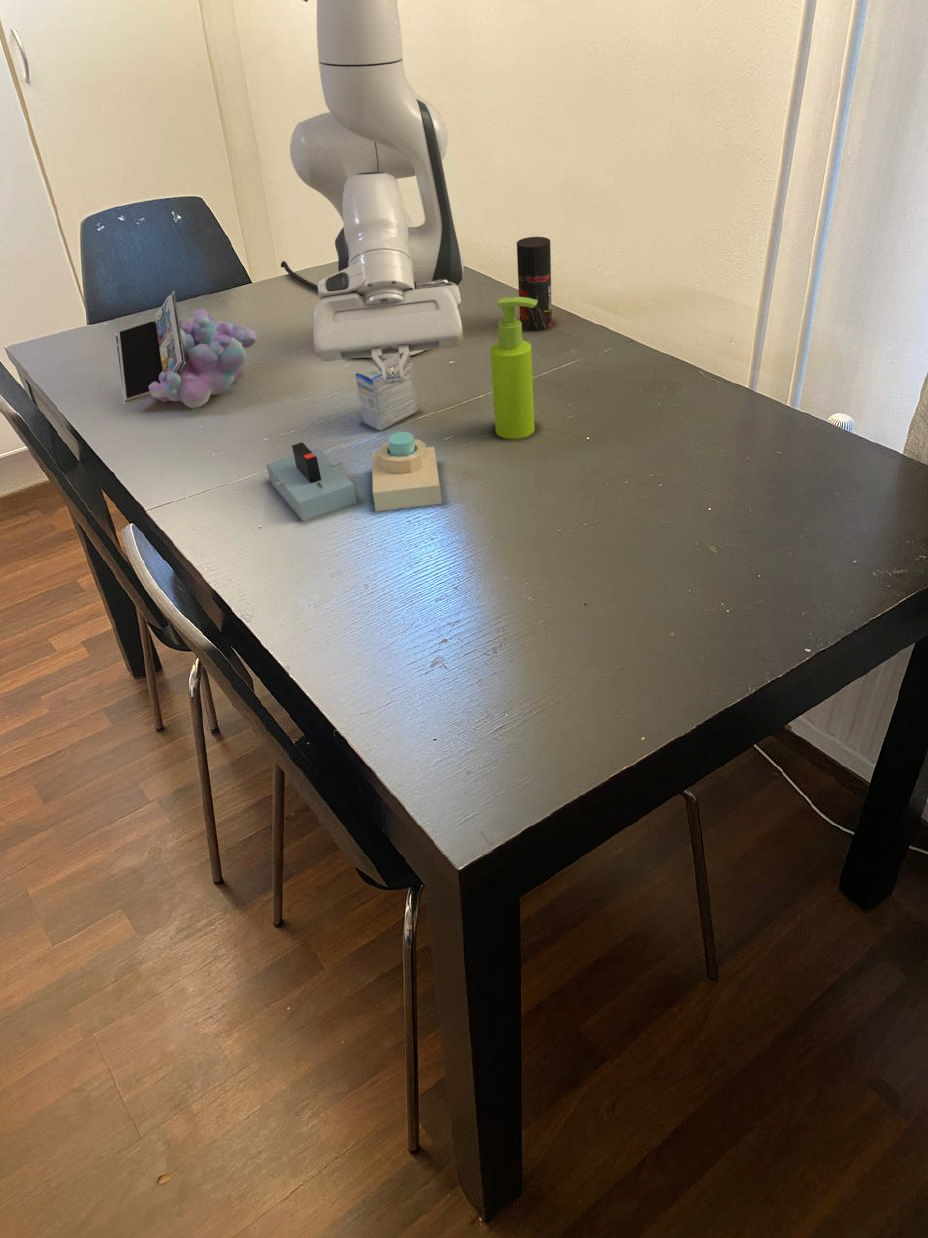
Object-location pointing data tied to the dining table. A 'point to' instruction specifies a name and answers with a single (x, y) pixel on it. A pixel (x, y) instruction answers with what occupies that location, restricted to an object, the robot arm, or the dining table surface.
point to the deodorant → (535, 282)
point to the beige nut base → (405, 478)
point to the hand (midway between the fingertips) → (394, 382)
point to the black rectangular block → (306, 462)
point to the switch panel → (312, 487)
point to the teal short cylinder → (401, 444)
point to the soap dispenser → (512, 374)
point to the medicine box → (385, 396)
